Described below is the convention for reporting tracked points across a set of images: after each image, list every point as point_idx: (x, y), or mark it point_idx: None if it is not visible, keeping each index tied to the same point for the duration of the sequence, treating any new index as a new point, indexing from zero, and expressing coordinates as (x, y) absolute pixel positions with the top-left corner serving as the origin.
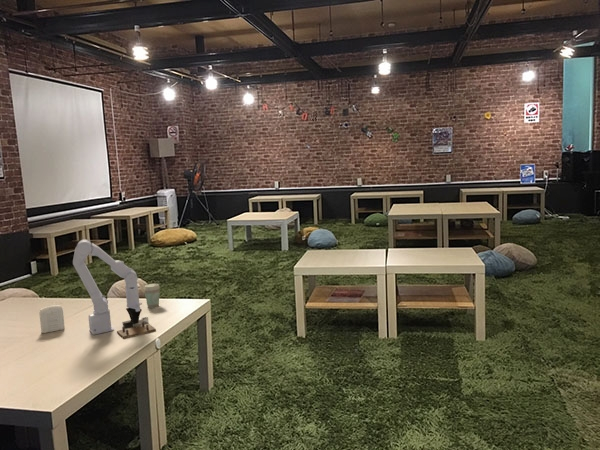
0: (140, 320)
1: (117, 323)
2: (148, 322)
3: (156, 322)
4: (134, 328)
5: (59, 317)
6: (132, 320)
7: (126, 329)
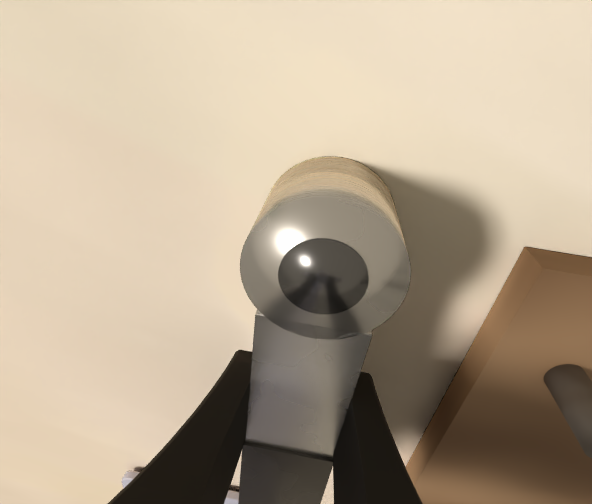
0: (361, 360)
1: (68, 401)
2: (374, 175)
3: (514, 18)
4: (504, 462)
5: None
6: (272, 435)
7: (435, 501)
